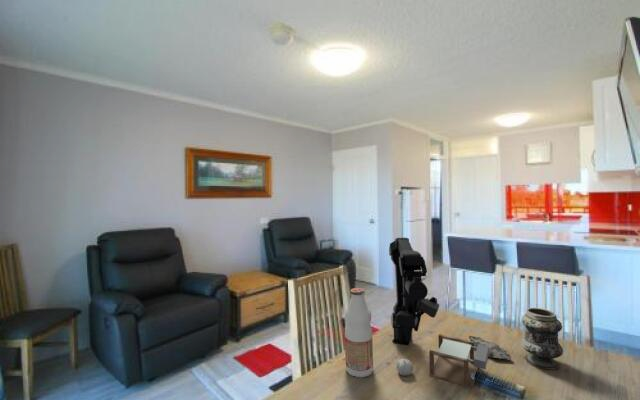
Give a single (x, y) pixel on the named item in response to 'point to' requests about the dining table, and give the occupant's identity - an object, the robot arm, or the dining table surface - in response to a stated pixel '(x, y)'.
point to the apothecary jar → (541, 338)
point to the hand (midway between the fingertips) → (412, 336)
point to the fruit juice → (358, 336)
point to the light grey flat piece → (466, 352)
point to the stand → (452, 364)
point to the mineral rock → (491, 348)
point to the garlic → (404, 367)
